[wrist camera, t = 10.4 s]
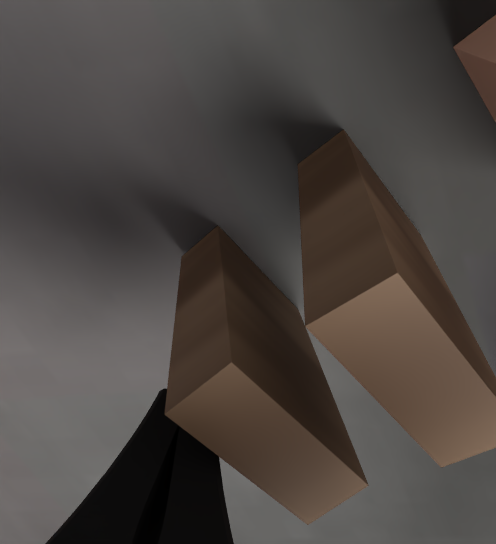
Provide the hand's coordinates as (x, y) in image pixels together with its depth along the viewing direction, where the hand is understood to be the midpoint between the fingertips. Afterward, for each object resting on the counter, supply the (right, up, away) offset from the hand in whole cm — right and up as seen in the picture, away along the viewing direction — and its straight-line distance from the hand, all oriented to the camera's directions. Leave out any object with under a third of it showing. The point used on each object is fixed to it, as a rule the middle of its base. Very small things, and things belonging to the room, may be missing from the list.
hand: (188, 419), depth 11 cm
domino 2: (+5, +6, +2) cm, 7 cm away
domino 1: (+1, +3, +4) cm, 5 cm away
